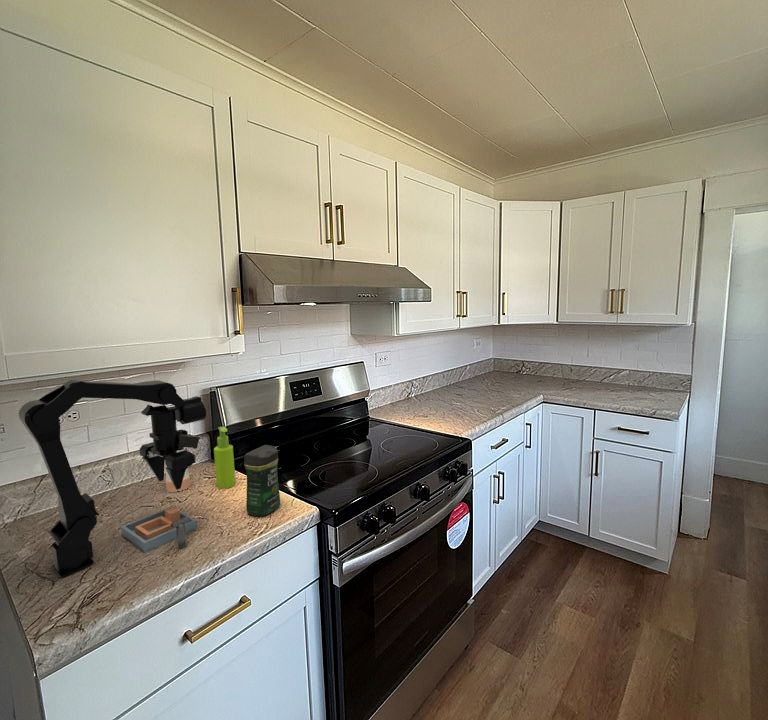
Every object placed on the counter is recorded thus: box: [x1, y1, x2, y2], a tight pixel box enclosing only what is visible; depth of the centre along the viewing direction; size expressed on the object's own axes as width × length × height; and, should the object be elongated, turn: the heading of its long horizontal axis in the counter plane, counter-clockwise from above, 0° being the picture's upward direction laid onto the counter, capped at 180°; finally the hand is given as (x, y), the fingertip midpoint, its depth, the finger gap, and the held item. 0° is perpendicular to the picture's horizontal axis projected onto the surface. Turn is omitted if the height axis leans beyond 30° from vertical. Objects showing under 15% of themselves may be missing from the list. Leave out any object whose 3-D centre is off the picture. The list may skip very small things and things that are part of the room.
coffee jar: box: [243, 444, 281, 517], centre depth 122 cm, size 10×8×19 cm
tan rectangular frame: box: [135, 507, 181, 541], centre depth 112 cm, size 10×7×4 cm
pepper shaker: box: [164, 448, 191, 493], centre depth 138 cm, size 7×7×19 cm
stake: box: [171, 517, 189, 549], centre depth 104 cm, size 4×2×7 cm, turn 143°
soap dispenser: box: [213, 426, 236, 490], centre depth 139 cm, size 6×7×20 cm
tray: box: [120, 506, 199, 553], centre depth 112 cm, size 13×13×2 cm
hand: (169, 484), depth 113 cm, fingers open, 9 cm apart
